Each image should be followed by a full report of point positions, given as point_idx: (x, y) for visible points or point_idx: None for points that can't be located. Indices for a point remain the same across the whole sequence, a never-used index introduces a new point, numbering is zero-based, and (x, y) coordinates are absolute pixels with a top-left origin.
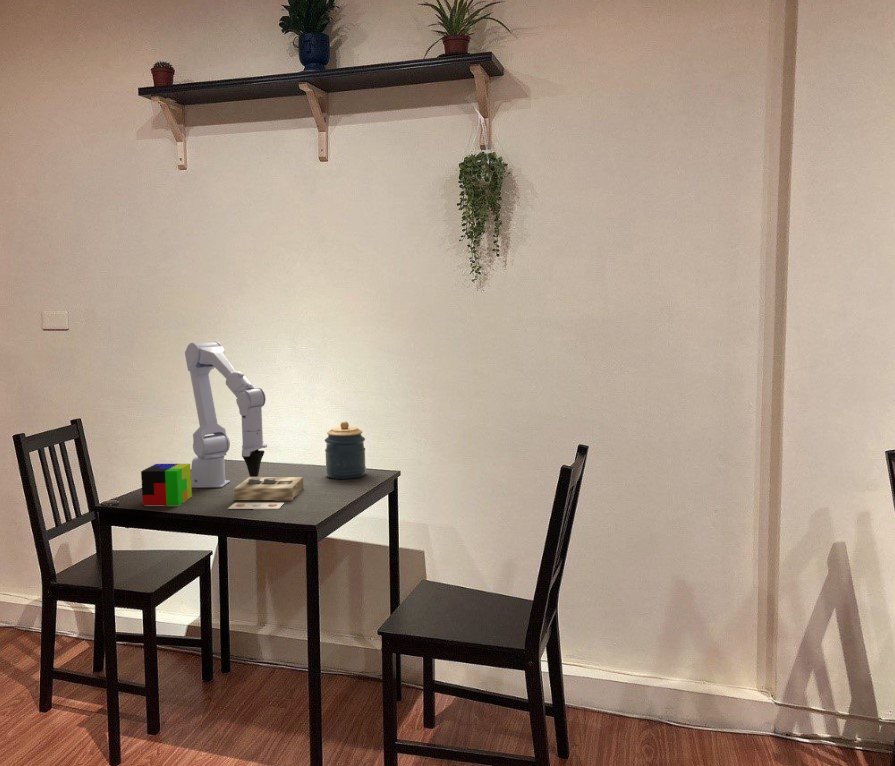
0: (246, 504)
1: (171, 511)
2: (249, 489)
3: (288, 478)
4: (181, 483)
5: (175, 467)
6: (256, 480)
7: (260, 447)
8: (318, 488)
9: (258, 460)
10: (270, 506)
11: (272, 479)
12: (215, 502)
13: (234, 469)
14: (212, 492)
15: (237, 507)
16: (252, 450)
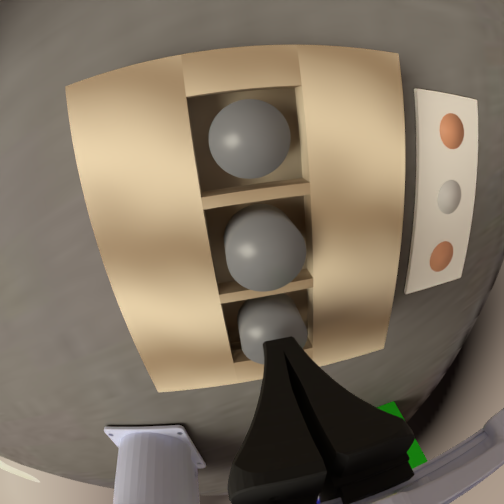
0: (433, 241)
1: (431, 384)
2: (392, 287)
3: (116, 170)
4: None
5: (383, 498)
6: (299, 318)
7: (417, 499)
8: (85, 19)
9: (367, 404)
10: (462, 137)
11: (271, 233)
12: (374, 356)
13: (6, 431)
14: (243, 420)
15: (458, 254)
16: (490, 452)
